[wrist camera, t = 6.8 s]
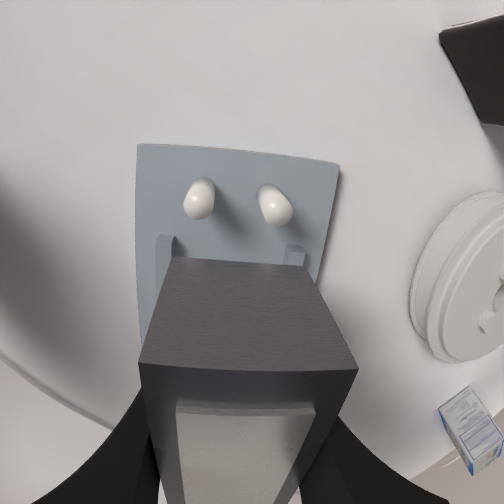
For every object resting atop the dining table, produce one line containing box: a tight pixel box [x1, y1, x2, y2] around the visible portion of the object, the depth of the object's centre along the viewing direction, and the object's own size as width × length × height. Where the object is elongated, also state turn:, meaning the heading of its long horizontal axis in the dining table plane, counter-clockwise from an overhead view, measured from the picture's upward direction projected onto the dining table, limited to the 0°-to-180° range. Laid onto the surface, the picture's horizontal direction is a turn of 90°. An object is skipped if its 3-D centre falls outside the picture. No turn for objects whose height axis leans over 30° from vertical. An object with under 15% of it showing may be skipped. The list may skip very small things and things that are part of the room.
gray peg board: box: [135, 144, 340, 347], centre depth 16 cm, size 10×15×4 cm, turn 173°
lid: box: [409, 191, 504, 363], centre depth 18 cm, size 13×13×5 cm
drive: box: [138, 256, 359, 504], centre depth 9 cm, size 4×8×5 cm, turn 173°
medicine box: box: [439, 387, 504, 476], centre depth 24 cm, size 8×4×9 cm, turn 35°
